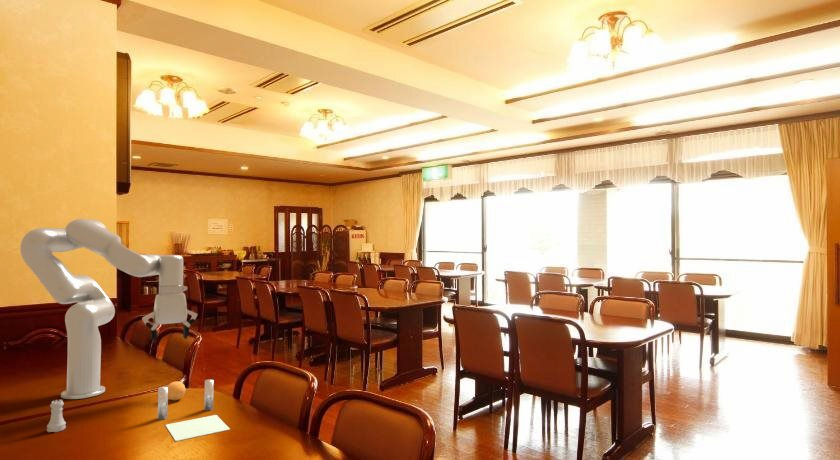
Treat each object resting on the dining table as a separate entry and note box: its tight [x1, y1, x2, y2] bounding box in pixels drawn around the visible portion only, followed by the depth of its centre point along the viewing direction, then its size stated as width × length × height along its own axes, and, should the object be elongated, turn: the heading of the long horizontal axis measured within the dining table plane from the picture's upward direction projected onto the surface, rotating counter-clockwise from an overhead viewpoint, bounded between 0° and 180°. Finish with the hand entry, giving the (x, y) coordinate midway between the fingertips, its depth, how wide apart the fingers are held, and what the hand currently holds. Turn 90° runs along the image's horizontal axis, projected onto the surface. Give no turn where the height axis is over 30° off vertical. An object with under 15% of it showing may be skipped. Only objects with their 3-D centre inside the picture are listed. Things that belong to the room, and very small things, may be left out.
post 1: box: [157, 386, 169, 420], centre depth 148 cm, size 3×3×9 cm
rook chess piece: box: [46, 399, 67, 433], centre depth 138 cm, size 4×4×8 cm
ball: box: [166, 381, 186, 401], centre depth 164 cm, size 6×6×6 cm
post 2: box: [203, 378, 215, 412], centre depth 156 cm, size 3×3×9 cm
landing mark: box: [164, 414, 231, 442], centre depth 140 cm, size 14×14×1 cm
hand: (170, 339), depth 172 cm, fingers open, 9 cm apart
